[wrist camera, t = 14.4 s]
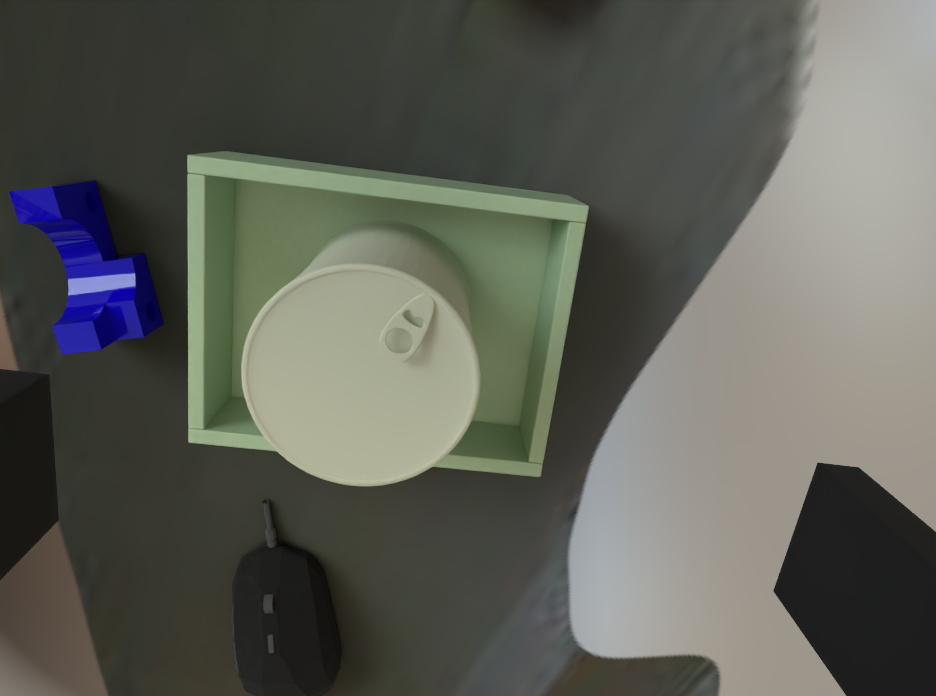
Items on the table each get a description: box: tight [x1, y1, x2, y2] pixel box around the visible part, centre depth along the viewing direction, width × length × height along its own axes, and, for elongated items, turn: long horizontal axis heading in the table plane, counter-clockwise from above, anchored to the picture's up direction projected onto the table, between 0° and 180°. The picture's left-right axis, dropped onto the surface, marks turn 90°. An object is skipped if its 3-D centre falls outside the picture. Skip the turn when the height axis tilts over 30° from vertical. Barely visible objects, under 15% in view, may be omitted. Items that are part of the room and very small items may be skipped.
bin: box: [188, 151, 589, 477], centre depth 34 cm, size 14×18×5 cm
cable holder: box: [10, 180, 163, 354], centre depth 34 cm, size 8×4×4 cm, turn 6°
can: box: [241, 221, 481, 486], centre depth 31 cm, size 9×9×12 cm
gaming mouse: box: [232, 501, 341, 696], centre depth 41 cm, size 6×15×4 cm, turn 4°
